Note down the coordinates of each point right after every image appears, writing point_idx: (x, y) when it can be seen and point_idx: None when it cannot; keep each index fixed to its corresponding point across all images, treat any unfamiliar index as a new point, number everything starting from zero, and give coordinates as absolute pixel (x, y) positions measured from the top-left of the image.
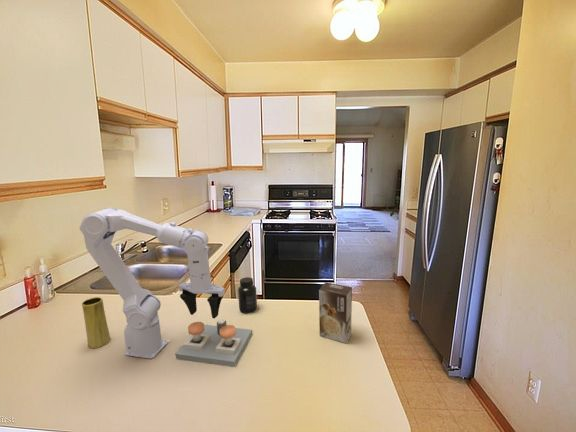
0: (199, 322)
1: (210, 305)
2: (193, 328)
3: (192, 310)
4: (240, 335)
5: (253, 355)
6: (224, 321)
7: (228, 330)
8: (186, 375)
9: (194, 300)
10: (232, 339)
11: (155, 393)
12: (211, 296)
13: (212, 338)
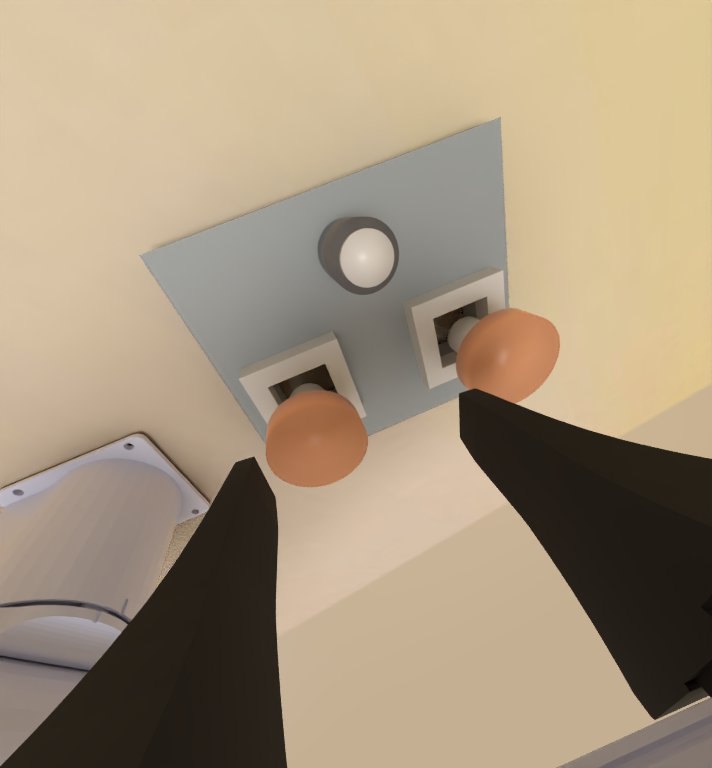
0: (303, 417)
1: (572, 574)
2: (326, 468)
3: (272, 526)
4: (459, 217)
5: (539, 280)
6: (392, 250)
7: (525, 367)
8: (380, 467)
9: (234, 582)
10: (467, 301)
11: (358, 531)
12: (700, 689)
13: (339, 324)
